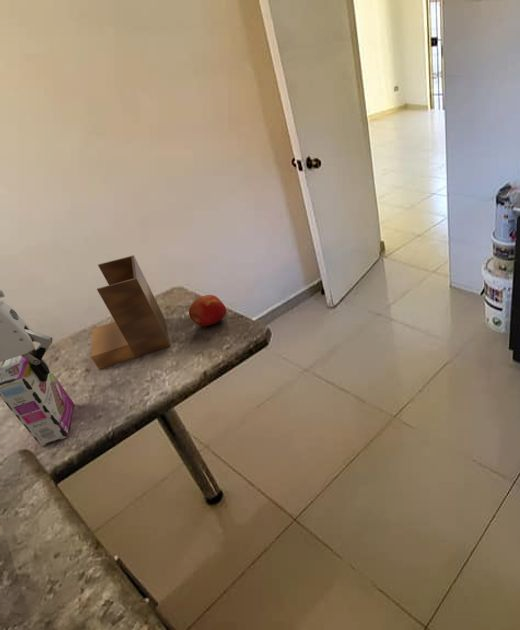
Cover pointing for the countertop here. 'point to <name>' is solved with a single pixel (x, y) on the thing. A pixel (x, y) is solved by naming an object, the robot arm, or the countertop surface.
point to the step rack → (127, 316)
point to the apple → (207, 310)
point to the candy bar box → (36, 400)
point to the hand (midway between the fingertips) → (27, 382)
